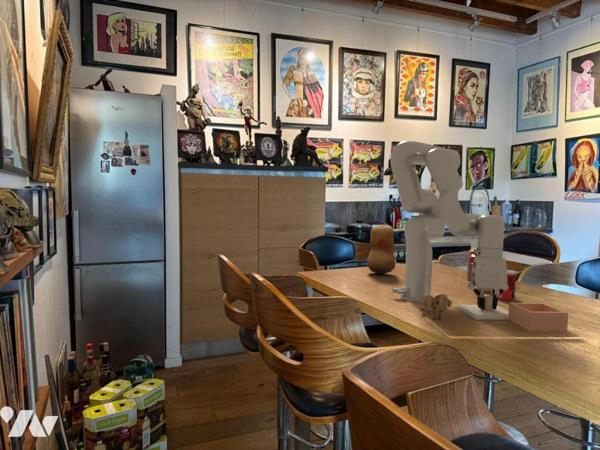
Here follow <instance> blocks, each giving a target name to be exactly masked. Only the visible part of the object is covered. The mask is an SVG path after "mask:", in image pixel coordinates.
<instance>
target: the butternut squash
mask: <svg viewBox="0 0 600 450" xmlns="http://www.w3.org/2000/svg"><path fill="white" fill-rule="evenodd" d="M394 236H395V231H394V229H393V227H392V225H391V226H390V225H389V224H377V225H375V226H373V227H372V228H371V229H370V238H369V239H370V240H369V242H370V252H369V254H368V256H367V260H366V263H367V268H368V269H369V270H370V271H371V272H372V273H374V274H377V275H382V276H383V275H386V274H389V273H392V271H393V270H394V269H395V268H396V257H395V254H394V248H395V242H394V241H395V239H394V238H395V237H394Z"/></svg>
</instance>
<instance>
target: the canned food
mask: <svg viewBox="0 0 600 450" xmlns="http://www.w3.org/2000/svg"><path fill="white" fill-rule="evenodd" d="M516 280H517V272H515V271H512V270H508V269H507V285H508V286H509V289H508V290H506V291H504V292H503V293H502V294H501V295H500V297H499V298H498V301H504V302H505V301H506V302H512V301H515V296H516ZM490 293H491V294H490V295H492V291H491V292H490Z"/></svg>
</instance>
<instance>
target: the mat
mask: <svg viewBox="0 0 600 450" xmlns="http://www.w3.org/2000/svg"><path fill="white" fill-rule="evenodd" d="M452 308H453V309H455V310H457V311H458V312H460V313H462V314H463V315H464V316H466V317H467V318H469V319H471V320H473V321H474V322H511V321H510V320H498V319H475V318H474V317H472V316H471V315H469V314H467V313H466V312H464V311H463V310H461V309H459V306H452Z"/></svg>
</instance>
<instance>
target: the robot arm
mask: <svg viewBox="0 0 600 450" xmlns="http://www.w3.org/2000/svg"><path fill="white" fill-rule="evenodd" d="M413 165H418V166H422V167H423V166H424V167H427V169H428V171H429V174H430V176H431V179H432V180H433V183H434V185H435V186H436V189H437V191H438V193H439V194H438V195H439V196H437V194H436V193H435V191H434V192H433V190H431V189H428V188H422V185H421V183H420V178H419V176H418V173H417V172H416V170H415V168H414V167H413ZM460 165H461V157H460V155H459V154H458V153H457V152H456V151H455V150H453V149H447V148H444V147H440V146H436V145H433V144H429V143H426V142H419V141H414V140H405V141H404V140H403V141H401V142H399V143H398V144H396V145H395V146H394V148H393V150H392V151H391V155H390V167H391V168H390V169H391V171H392V174H393V177H394V179H395V180H394V181H395V184H396V189H397V192H398V197H399V199H400V203H401V206H402V209H403V211H404V212H406V213H407V214H408V213H409V214H418V215H415V216H412V217H410V218H408V219H407V220H406V222H405V224H404V229H403V230H404V237H405V238H404V239H405V272H404V273H405V274H404V275H405V276H404V277H405V279H404V281H405V282H404V285H402V287H399V288H398V287H392V288H391V292H392V293H393V294H398V295H400V298H401V299H402V300H403V301H411V302H419V303H420V302H421V303H424V298H425V296H427V295H431V296H433V298H434V297H435V295H432V279H433V278H432V275H433V274H432V273H433V272H432V271H433V248H432V247H433V246H432V244H431V241H436V240H439V239H441V238H442V237H443V236H444V234H445V233H446V228H447V230H448V231H449V233H451V234H452V235H453V236H456V237H469V236H472V237H473V236H477V246H476V248H477V249H474V250H473V253H476V255H477V256H475V259H474V262H473V267H472V275H471V281H469V283H468V284H467V286H466V287H467V289H469V290H470V291H472V292H473V293H474V294H475V295H476V296H477V297H476V298H477V299H476V305H477V306H478V308H480V309H482V310H484V309H485V298H484V294H485V292H484V290H485V289H491V290H492V296H493V308H492V309H494V310H496V309H497V306H498V304H499V303H498V301H499V300H498V298H499V297H500V295H501V294H502V293H503V292H504V291H506V290H508V289H509V286H508V285H507V270H508V269H507V268H508V267H507V261H506V258H505V257H504V256H503V254H504V253H503V252H504V250H503V249H504V232H505V218H504V217H503V216H501V215H495V214H478V213H465V212H464V211H463V209H462V207H461V204H460V201H459V197H458V196H459V191H460V190H461V189H462V188H463V186H464V183H463V179H462V177H461V175H460V174H459V172H458V169H459V168H460Z"/></svg>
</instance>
